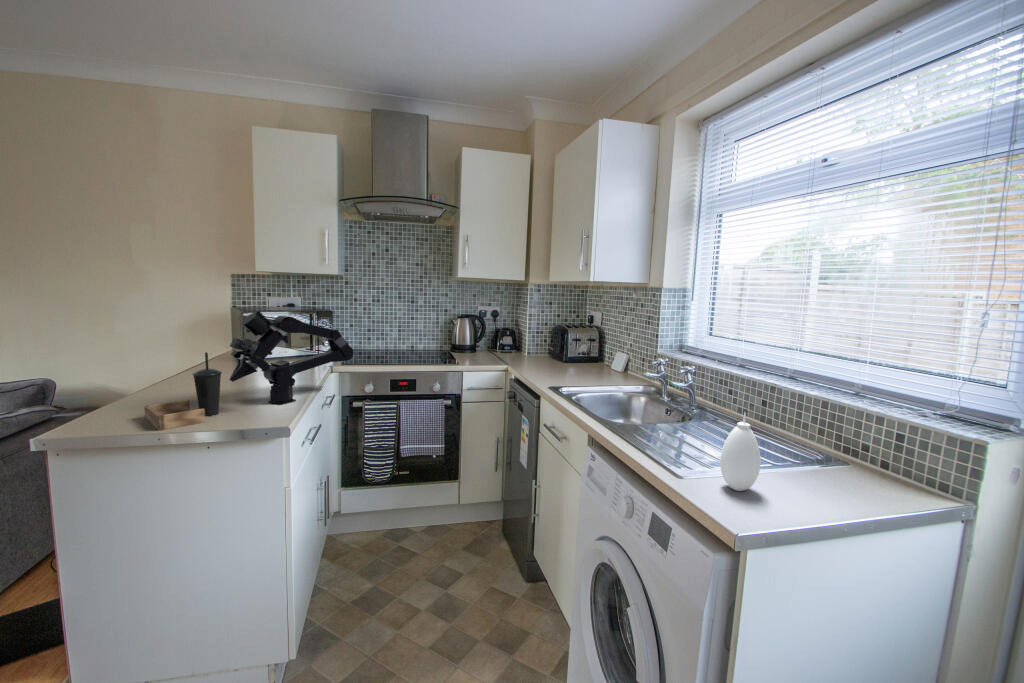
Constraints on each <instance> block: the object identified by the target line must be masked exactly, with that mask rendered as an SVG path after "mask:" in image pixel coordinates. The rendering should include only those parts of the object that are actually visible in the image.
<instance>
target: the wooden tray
mask: <svg viewBox="0 0 1024 683" xmlns="http://www.w3.org/2000/svg"><path fill="white" fill-rule="evenodd" d="M190 405H191V404H190V400H189V399H184V400H177V401H170V402H163V403H156V404H150V405H145V406H144V407H143V408H144V419H145V420H146V421H147V420H148V421H149V422H150V424H151V425H152V424H153V425H154V426H155V427H154V426H153V425H152V426H153V427H154V428H156V429H157V428H158V429H159V430H160V431H164V430H163V429H165V430H170V428H171V429H176V428H180V427H186V426H192V425H197V424H203V423H206V417H205V409H204V408H203V409H199V408H197V409H191V406H190ZM148 421H147V422H148ZM149 422H148V423H149ZM158 429H157V430H158ZM159 430H158V431H159Z"/></svg>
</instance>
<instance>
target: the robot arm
mask: <svg viewBox="0 0 1024 683" xmlns="http://www.w3.org/2000/svg"><path fill="white" fill-rule="evenodd" d="M240 325H241V326H243V328H245V329H246V330H247V331H249V332H250V333H251V334H252V335H254V336H255V337H257V336H260V337H259V338H258V339H257V340H253V341H252V339H249V338H246V337H245V338H243V339H239V338H237V337H233V338H232V340H231V343H230V345H229V347H230V348H233V349H234V350H233V351H232V352H231V353H230V356H232V358H234V359H235V361H236V366H235V368H234V370H233V372H232V373H231V376H230V377H229V381H231V382H232V383H233V382H236V381H237V380H238V381H239V379H242V378H244V377H247V376H249V375H252V374H255V373H257V372H258V370H257V369H258V368H259V369H260V370H261V372H263V374H262V375H263V377H264V379H265V380H267V381H268V382H269V384H270V390H269V397H270V398H269V400H268V403H270V402H272V403H271V404H275V403H277V404H276V405H284V404H283V403H285V404H288V403H287V402H289V403H293V402H295V401H297V399H294V395H293V390H294V389H293V386H294V385H295V383H296V379H295V378H293V377H294V376H295V375H296V374H299V373H302V372H305V371H308V370H311V369H314V368H317V367H319V366H323V365H326V364H329V363H335V362H336V363H338V362H341V363H342V362H347V361H350V360H351V359H352V358H353V357H354V349H353V348H352V347H351V346H350V345H349V343H348V341H347V340H346V339H345V338H344V337H343V336H342V334H341V332H340V331H339V330H337V329H332V328H326V327H323V326H319V325H313V324H308V323H306V322H304V321H302V320H299V319H298V318H295V317H293V316H288V315H278V316H277V317H275V318H274V319H268V318H267V317H266V316H264V315H263V313H262V312H261V311H260V310H255V311H254V312H253V313H250V314H249V315H247V316H245V317H244V318H243V319H242V321H241V322H240ZM273 328H274V329H275V330H274V329H273ZM281 332H282V333H286V334H306V335H309V336H310V335H311V336H314V337H320V338H324V339H327V342H328V346H329V348H328V349H327V350H326V351H324V352H321V353H318V354H315V355H311V356H308V357H305V358H302V359H298V360H295V361H291V362H290V361H288V360H284V359H279V360H276V361H275V362H267V361H266V360H265V359H266V358H267V357H268V356H271V355H273V352H272V351H273V350H275V348H277V347H278V345H279V344H280V343H284V344H289V340H288V337H289V336H288V335H285V334H284V335H283V334H282V333H281ZM292 401H293V402H292Z"/></svg>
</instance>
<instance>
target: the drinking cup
mask: <svg viewBox="0 0 1024 683" xmlns="http://www.w3.org/2000/svg"><path fill="white" fill-rule="evenodd" d="M208 356H209V353H208V352H204V357H205V358H204V359H205V360H204V361H205V368H202V369H199V370H197V371H195V372H193V373H192V376H193V379H194V386H195V391H196V392H195V393H196V398H197V404H198V409H203V408H204V409H205V416H209V417H214V416H213V415H215V416H217V415H219V413H220V412H219V409H220V408H219V407H220V393H221V392H220V391H221V378H222V375H221V374H223V373H222V370H218V369H215V368H210V367H209V357H208ZM216 414H217V415H216Z"/></svg>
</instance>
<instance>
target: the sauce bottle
mask: <svg viewBox="0 0 1024 683" xmlns="http://www.w3.org/2000/svg"><path fill="white" fill-rule="evenodd" d="M746 413H747V412H746V411H744V413H743V418H742V421H739V422H737V423H736V426H735V427H734V428H733V429H732V430H731V431H730V432H729V434H728V436H727V438H726V439H725V441H724V443H723V447H722V449H721V453H720V460H719V464H720V465H719V466H720V471H721V475H722V478H723V480H724V482H725V483H726V484H727V485H728V486H729V488H731V489H732V490H734V491H737V492H741V491H746V490H747V489H749V488H751V487H752V486H753V485H755V483H756V481H757V480H758V477H759V475H760V471H761V464H762V463H761V459H762V458H761V453H760V447H759V443H758V441H757V438H756V435H755V434H754V432H753V430H752V428H751V424H750V423H748V422H746V418H747V414H746Z"/></svg>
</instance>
